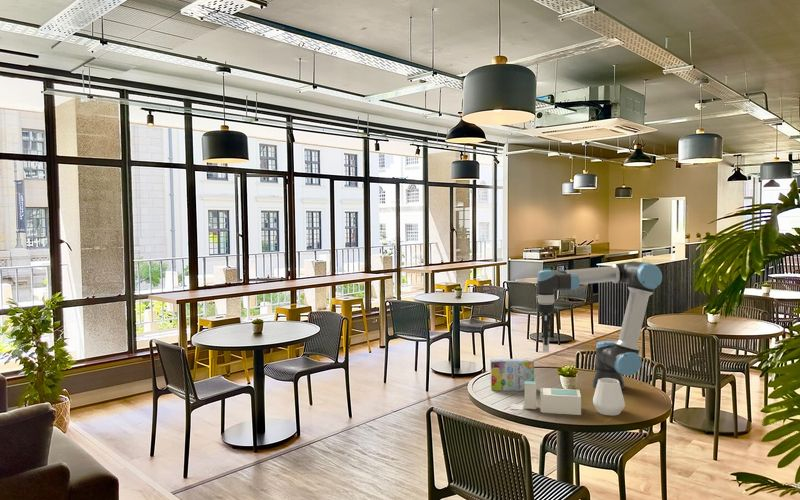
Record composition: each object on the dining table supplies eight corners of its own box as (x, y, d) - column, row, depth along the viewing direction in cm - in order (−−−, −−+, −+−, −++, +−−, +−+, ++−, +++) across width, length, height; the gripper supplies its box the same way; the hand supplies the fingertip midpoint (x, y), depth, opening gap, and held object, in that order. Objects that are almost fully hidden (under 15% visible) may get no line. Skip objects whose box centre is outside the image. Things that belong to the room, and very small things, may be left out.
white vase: (631, 415, 240) (632, 383, 239) (605, 418, 236) (605, 386, 235) (611, 405, 253) (611, 375, 252) (586, 408, 249) (586, 378, 248)
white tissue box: (579, 407, 251) (579, 389, 250) (581, 415, 241) (581, 396, 241) (540, 405, 255) (540, 387, 255) (540, 412, 245) (540, 394, 245)
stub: (536, 405, 253) (536, 381, 252) (536, 409, 249) (535, 384, 248) (524, 405, 254) (524, 381, 254) (524, 408, 250) (524, 383, 249)
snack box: (532, 387, 281) (532, 358, 280) (534, 391, 276) (534, 361, 275) (490, 387, 283) (490, 358, 282) (491, 390, 278) (490, 361, 277)
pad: (523, 405, 256) (523, 404, 256) (522, 410, 249) (522, 409, 249) (511, 404, 257) (511, 403, 257) (510, 409, 250) (510, 408, 250)
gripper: (538, 299, 272) (538, 342, 273) (537, 307, 248) (537, 354, 249) (553, 299, 270) (554, 342, 271) (554, 307, 246) (554, 355, 247)
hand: (546, 348), depth 260 cm, fingers open, 13 cm apart
